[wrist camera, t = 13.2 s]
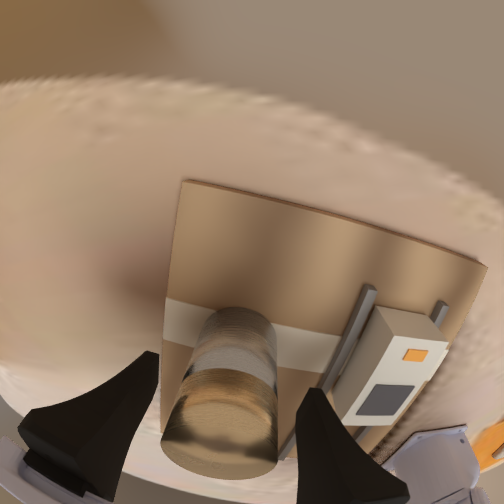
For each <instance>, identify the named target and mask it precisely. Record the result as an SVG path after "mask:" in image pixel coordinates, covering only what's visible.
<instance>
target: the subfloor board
mask: <svg viewBox="0 0 504 504" xmlns="http://www.w3.org/2000/svg"><path fill="white" fill-rule="evenodd" d="M487 269H488V267H486V266H485V265H483V264H482V263H480V262H479V261H476V260H474V259H471V258H468V257H466V256H463V255H460V254H458V253H455V252H452V251H449V250H447V249H444V248H441V247H438V246H435V245H432V244H429V243H426V242H424V241H421V240H418V239H415V238H412V237H409V236H405V235H402V234H399V233H396V232H393V231H390V230H387V229H383V228H380V227H377V226H374V225H370V224H367V223H364V222H360V221H357V220H353V219H350V218H347V217H343V216H339V215H336V214H332V213H329V212H325V211H321V210H318V209H314V208H310V207H306V206H303V205H299V204H295V203H291V202H287V201H283V200H279V199H275V198H271V197H266V196H262V195H258V194H254V193H249V192H245V191H241V190H236V189H232V188H227V187H222V186H218V185H213V184H208V183H203V182H198V181H193V180H187V181H183V182H182V187H181V193H180V199H179V205H178V211H177V217H176V224H175V231H174V238H173V245H172V252H171V260H170V269H169V277H168V287H167V297H166V302H165V314H164V327H163V349H162V370H161V433H164V430H165V427H166V424H167V421H168V419H169V416H170V413H171V410H172V407H173V405H174V402H175V399H176V396H177V394H178V391H179V388H180V385H181V383H182V380H183V377H184V375H185V372H186V369H187V366H188V364H189V361H190V358H191V356H192V353H193V350H194V348H195V345H196V342H197V340H198V337H199V335H200V332H201V329H202V327H203V324H204V322H205V321H206V319H207V318H208V317H209V316H211V315H212V314H213V313H215V312H216V311H219V310H221V309H224V308H229V307H242V308H248V309H251V310H254V311H256V312H258V313H260V314H261V315H263V316H264V317H266V318H267V319H268V320H269V322H270V323H271V324H272V326H273V327H274V329H275V332H276V338H277V384H278V460H284V459H285V458H286V457H290V458H297V446H296V435H295V422H296V412H297V410H298V408H299V406H300V404H301V403H302V401H303V399H304V397H305V395H306V393H307V391H308V389H309V388H310V387H313V388H321V389H322V390H323V392H324V394H325V395H326V397H327V399H328V401H329V402H330V404H331V406H332V407H333V409H334V411H335V406H334V402H333V397H332V390H333V388H334V387H335V385H336V383H337V381H338V380H339V378H340V376H341V374H342V372H343V371H344V369H345V367H346V365H347V363H348V361H349V360H350V358H351V356H352V354H353V352H354V350H355V348H356V346H357V344H358V342H359V340H360V338H361V336H362V334H363V332H364V330H365V328H366V325H367V323H368V321H369V319H370V317H371V315H372V312H373V310H374V308H375V306H381V307H386V308H391V309H396V310H401V311H407V312H412V313H417V314H423V315H427V316H428V317H429V318H430V319H431V321H432V322H433V323H434V324H435V325H436V327H437V328H438V329H439V330H440V331H441V333H442V334H443V335H444V336H445V338H446V339H447V340H448V341H449V344H448V345H447V347H446V349H445V350H444V352H443V354H442V355H441V357H440V359H439V360H438V362H437V363H436V365H435V367H434V368H433V370H432V371H431V373H430V374H429V376H428V377H427V379H426V380H425V382H424V383H423V384H422V386H421V387H420V389H419V390H418V391H417V393H416V394H415V396H414V397H413V398H412V400H411V401H410V402H409V404H408V405H407V406H406V407H405V409H404V410H403V411H402V413H401V414H400V415H399V416H398V417H397V419H396V420H395V421H394V422H393V423H392V425H382V426H350V425H344V427H345V428H346V429H347V431H348V432H349V433H350V435H351V436H352V437H353V439H354V440H355V441H356V442H357V443H358V445H359V446H360V447H361V448H362V449H363V450H364V451H365V452H366V453H367V454H368V453H369V452H370V451H371V450H372V449H373V448H374V447H375V446H376V445H377V444H378V443H379V442H380V441H381V439H382V438H383V437H384V436H385V435H386V434H387V433H388V432H389V431H390V429H391V428H392V427H393V426H394V425H395V424H396V422H397V421H398V420H399V419H400V418H401V416H402V415H403V414H404V413H405V411H406V410H407V409H408V408H409V406H410V405H411V404H412V402H413V401H414V400H415V398H416V397H417V396H418V394H419V393H420V392H421V390H422V389H423V388H424V386H425V385H426V383H427V382H428V381H429V380H430V379H431V378H432V376H433V375H434V373H435V372H436V370H437V368H438V367H439V365H440V364H441V362H442V361H443V359H444V357H445V356H446V354H447V353H448V351H449V347H450V346H451V344H452V342H453V341H454V339H455V337H456V335H457V333H458V332H459V330H460V328H461V326H462V324H463V322H464V320H465V318H466V316H467V314H468V312H469V310H470V308H471V306H472V304H473V302H474V300H475V298H476V295H477V293H478V291H479V289H480V286H481V284H482V282H483V279H484V277H485V274H486V272H487ZM335 412H336V411H335Z"/></svg>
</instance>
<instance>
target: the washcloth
mask: <svg viewBox="0 0 504 504" xmlns="http://www.w3.org/2000/svg"><path fill="white" fill-rule="evenodd" d="M492 457H493V458H494V459H500V458H503V457H504V444H503V445H502V446H501V447H499V449H497V450H496V451H495V452H494V453H493V456H492Z"/></svg>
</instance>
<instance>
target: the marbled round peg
mask: <svg viewBox="0 0 504 504" xmlns="http://www.w3.org/2000/svg"><path fill="white" fill-rule="evenodd" d="M161 448H162V450H163V452H164V453H165V454H166V456H167V457H168V458H169V459H171V460H172V461H173V462H174V463H176V464H177V465H179V466H181V467H182V468H184V469H186V470H189V471H191V472H194V473H196V474H199V475H203V476H207V477H211V478H217V479H225V480H242V479H250V478H255V477H258V476H262V475H264V474H266V473H268V472H270V471H271V470H272V469H273V468H274V467H275V466H276V464H277V462H278V384H277V338H276V332H275V329H274V327H273V326H272V324H271V323H270V322H269V320H268V319H267V318H266V317H264V316H263V315H261V314H260V313H258V312H256V311H254V310H251V309H248V308H242V307H229V308H224V309H221V310H219V311H216V312H215V313H213V314H212V315H211V316H209V317H208V318H207V319H206V321H205V322H204V324H203V327H202V329H201V332H200V335H199V337H198V340H197V342H196V345H195V348H194V350H193V353H192V356H191V358H190V361H189V364H188V366H187V369H186V372H185V375H184V377H183V380H182V383H181V385H180V388H179V391H178V394H177V396H176V399H175V402H174V405H173V407H172V410H171V413H170V416H169V419H168V421H167V424H166V427H165V430H164V433H163V435H162V438H161Z"/></svg>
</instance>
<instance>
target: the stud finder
mask: <svg viewBox="0 0 504 504" xmlns="http://www.w3.org/2000/svg"><path fill="white" fill-rule="evenodd" d="M448 344H449V341H448V340H447V339H446V338H445V336H444V335H443V334H442V333H441V331H440V330H439V329H438V328H437V327H436V325H435V324H434V323H433V322H432V321H431V319H430V318H429V317H428V316H427V315H423V314H417V313H412V312H407V311H401V310H396V309H391V308H386V307H381V306H375V308H374V310H373V312H372V315H371V317H370V319H369V321H368V323H367V325H366V328H365V330H364V332H363V334H362V336H361V338H360V340H359V342H358V344H357V346H356V348H355V350H354V352H353V354H352V356H351V358H350V360H349V361H348V363H347V365H346V367H345V369H344V371H343V372H342V374H341V376H340V378H339V380H338V381H337V383H336V385H335V387H334V388H333V390H332V397H333V402H334V406H335V411H336V414H337V416H338V417H339V419H340V420H341V422H342V424H343V425H350V426H382V425H392V423H393V422H394V421H395V420H396V419H397V417H398V416H399V415H400V414H401V413H402V411H403V410H404V409H405V407H406V406H407V405H408V404H409V402H410V401H411V400H412V398H413V397H414V396H415V394H416V393H417V391H418V390H419V389H420V387H421V386H422V384H423V383H424V382H425V380H426V379H427V377H428V376H429V374H430V373H431V371H432V370H433V368H434V367H435V365H436V363H437V362H438V360H439V359H440V357H441V355H442V354H443V352H444V350H445V349H446V347H447V345H448Z"/></svg>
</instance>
